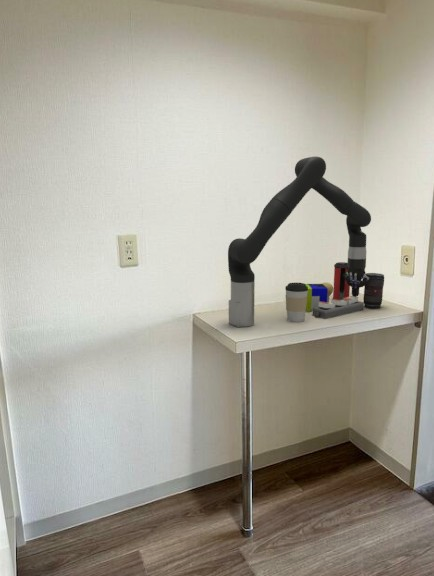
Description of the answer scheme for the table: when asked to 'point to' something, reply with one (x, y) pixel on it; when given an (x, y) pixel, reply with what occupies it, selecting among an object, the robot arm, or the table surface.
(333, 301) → the rocker
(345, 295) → the speaker
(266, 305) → the table surface
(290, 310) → the coffee cup
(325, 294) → the puzzle toy
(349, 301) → the rocker
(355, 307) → the power strip
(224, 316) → the table surface
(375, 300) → the camera lens
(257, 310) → the table surface
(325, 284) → the beige rounded piece
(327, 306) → the rocker
